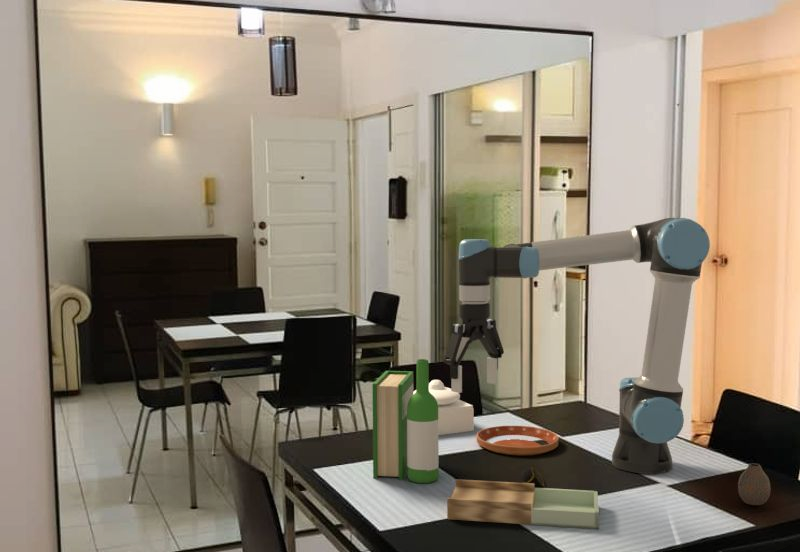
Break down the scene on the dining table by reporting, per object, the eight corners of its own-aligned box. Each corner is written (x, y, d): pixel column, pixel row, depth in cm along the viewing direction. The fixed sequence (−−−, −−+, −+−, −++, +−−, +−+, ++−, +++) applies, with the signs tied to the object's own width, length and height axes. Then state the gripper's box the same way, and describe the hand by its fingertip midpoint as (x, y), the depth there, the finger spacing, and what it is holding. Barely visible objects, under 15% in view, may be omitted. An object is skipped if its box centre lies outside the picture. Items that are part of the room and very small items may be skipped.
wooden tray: (534, 502, 201) (534, 483, 201) (531, 524, 188) (531, 503, 187) (456, 498, 205) (456, 479, 205) (447, 519, 191) (447, 498, 191)
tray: (597, 506, 199) (597, 491, 199) (598, 529, 185) (598, 513, 184) (534, 502, 202) (534, 487, 201) (531, 525, 187) (531, 508, 187)
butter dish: (420, 441, 255) (419, 387, 254) (395, 427, 272) (395, 376, 270) (473, 435, 262) (473, 382, 261) (446, 422, 279) (446, 372, 277)
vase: (767, 509, 196) (768, 470, 196) (734, 504, 200) (735, 466, 199) (772, 500, 202) (773, 463, 201) (740, 495, 206) (741, 458, 205)
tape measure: (541, 504, 204) (553, 494, 203) (522, 490, 201) (535, 480, 200) (532, 484, 210) (544, 474, 209) (514, 470, 207) (526, 460, 206)
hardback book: (402, 480, 219) (402, 384, 217) (373, 478, 220) (372, 383, 218) (413, 460, 236) (413, 371, 234) (386, 459, 237) (385, 370, 236)
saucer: (571, 444, 252) (571, 431, 252) (538, 464, 233) (538, 450, 232) (498, 433, 264) (498, 421, 264) (462, 451, 245) (462, 438, 245)
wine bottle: (407, 474, 223) (407, 357, 221) (438, 474, 223) (438, 357, 221) (406, 484, 215) (406, 362, 213) (438, 484, 215) (438, 362, 213)
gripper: (494, 297, 228) (494, 378, 230) (428, 305, 210) (429, 393, 212) (517, 299, 223) (517, 382, 224) (452, 307, 205) (452, 397, 207)
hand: (474, 387), depth 218 cm, fingers open, 13 cm apart
